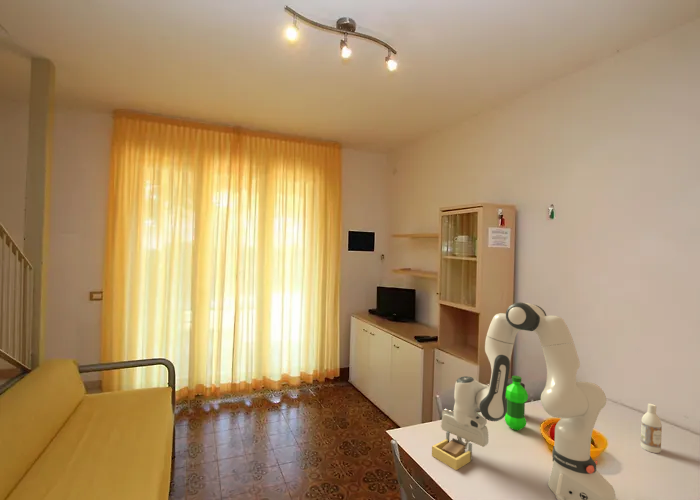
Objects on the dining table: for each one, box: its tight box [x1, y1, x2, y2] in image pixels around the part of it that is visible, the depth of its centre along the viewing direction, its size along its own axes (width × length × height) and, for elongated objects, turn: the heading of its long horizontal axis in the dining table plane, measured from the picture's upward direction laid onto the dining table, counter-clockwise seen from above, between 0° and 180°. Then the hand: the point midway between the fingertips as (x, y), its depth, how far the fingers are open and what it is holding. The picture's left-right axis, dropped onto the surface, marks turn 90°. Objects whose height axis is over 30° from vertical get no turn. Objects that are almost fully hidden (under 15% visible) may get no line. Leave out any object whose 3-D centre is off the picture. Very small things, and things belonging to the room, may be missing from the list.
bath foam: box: [640, 402, 663, 454], centre depth 158 cm, size 7×7×20 cm
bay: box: [431, 431, 473, 471], centre depth 147 cm, size 12×11×7 cm
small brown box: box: [442, 438, 466, 458], centre depth 148 cm, size 6×9×5 cm, turn 138°
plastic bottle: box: [504, 375, 529, 431], centre depth 174 cm, size 10×10×25 cm
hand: (463, 447), depth 152 cm, fingers closed
